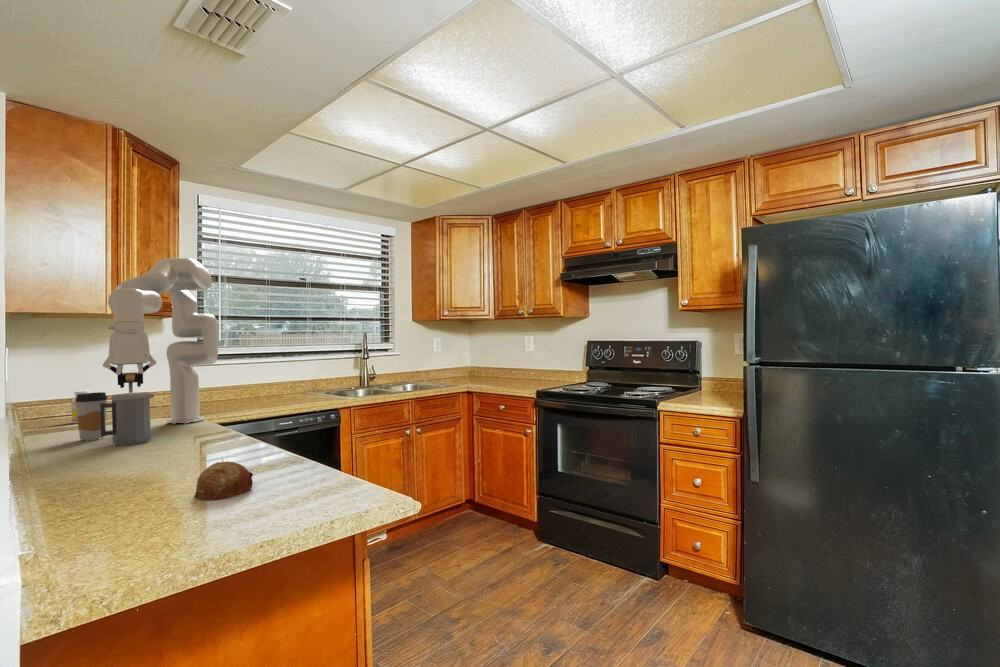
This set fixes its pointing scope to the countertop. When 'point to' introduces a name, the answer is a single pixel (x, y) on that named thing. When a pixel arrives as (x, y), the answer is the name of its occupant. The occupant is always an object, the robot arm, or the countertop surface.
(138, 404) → the french press
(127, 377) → the plunger
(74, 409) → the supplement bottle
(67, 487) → the countertop surface
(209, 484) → the bread roll
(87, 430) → the coffee cup
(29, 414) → the countertop surface
